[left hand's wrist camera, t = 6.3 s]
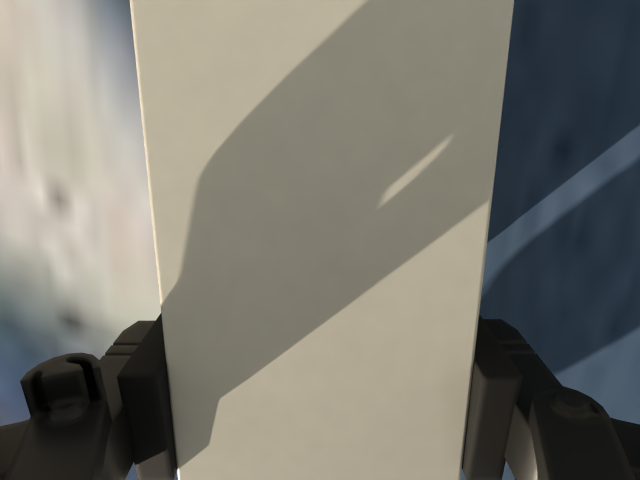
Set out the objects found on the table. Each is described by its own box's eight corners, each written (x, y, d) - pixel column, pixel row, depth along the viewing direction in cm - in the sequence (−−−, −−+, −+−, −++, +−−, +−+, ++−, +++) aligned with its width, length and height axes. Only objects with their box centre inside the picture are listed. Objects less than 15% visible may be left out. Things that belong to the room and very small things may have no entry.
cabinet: (240, -29, 16) (93, -324, 6) (401, -28, 16) (553, -321, 6) (255, 336, 20) (184, 560, 10) (383, 336, 20) (453, 561, 10)
